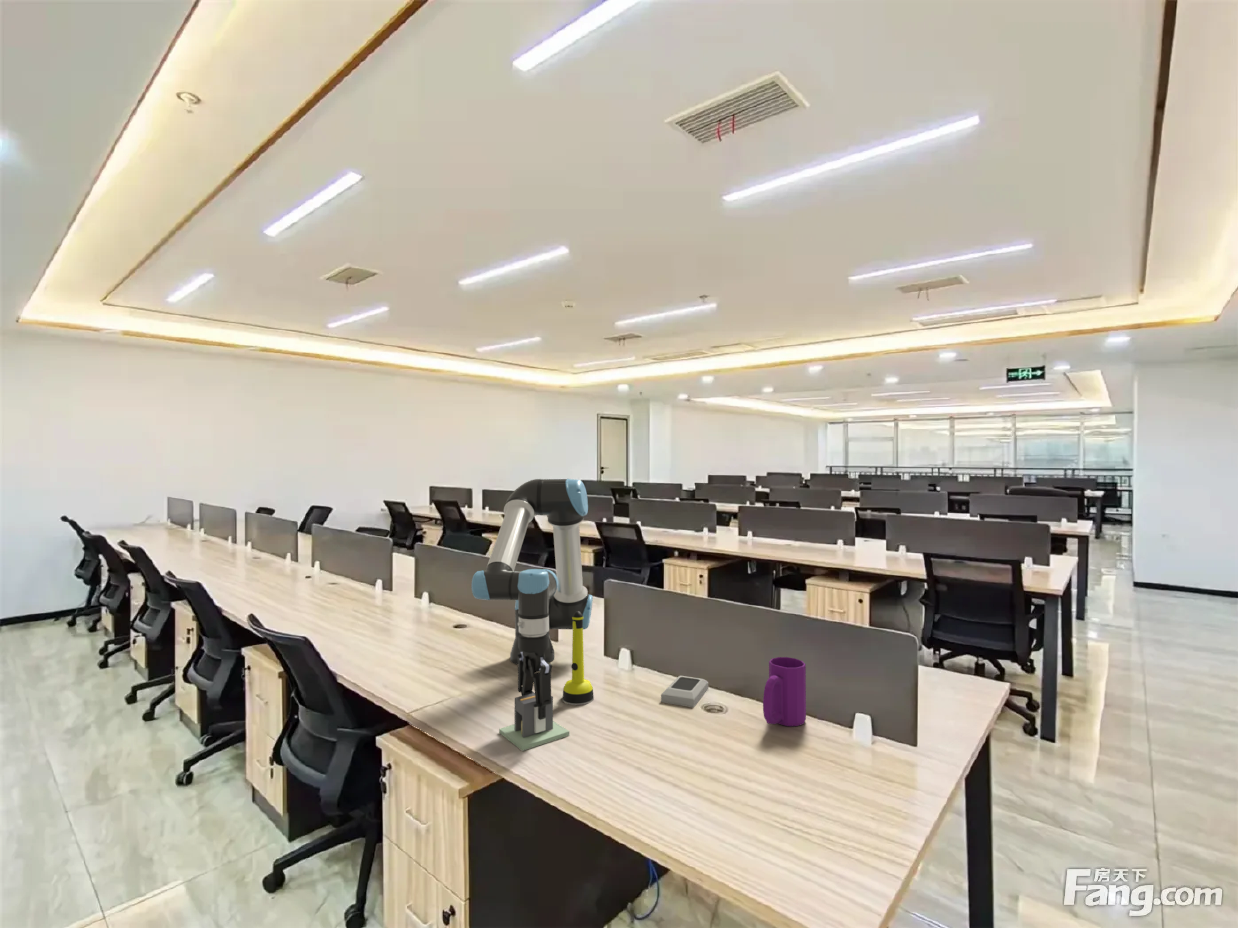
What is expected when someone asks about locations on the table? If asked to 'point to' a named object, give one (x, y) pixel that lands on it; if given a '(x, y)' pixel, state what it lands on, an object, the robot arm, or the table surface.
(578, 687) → the flashlight
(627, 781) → the table surface
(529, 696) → the plug housing
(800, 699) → the mug
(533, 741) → the board
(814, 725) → the table surface
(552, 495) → the robot arm
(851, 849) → the table surface
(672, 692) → the grey flat block
